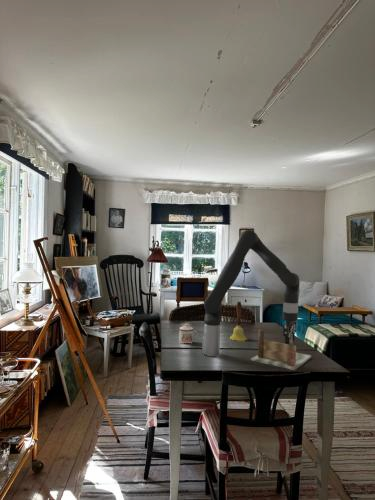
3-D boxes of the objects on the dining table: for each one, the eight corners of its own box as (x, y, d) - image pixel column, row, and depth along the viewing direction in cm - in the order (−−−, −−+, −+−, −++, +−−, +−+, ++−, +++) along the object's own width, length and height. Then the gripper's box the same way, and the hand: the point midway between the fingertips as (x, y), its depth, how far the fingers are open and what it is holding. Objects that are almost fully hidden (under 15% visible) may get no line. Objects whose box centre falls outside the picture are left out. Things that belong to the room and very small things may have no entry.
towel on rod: (250, 360, 189) (251, 330, 189) (271, 349, 211) (271, 322, 211) (294, 370, 175) (295, 338, 175) (311, 357, 197) (312, 329, 197)
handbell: (248, 337, 238) (249, 301, 238) (245, 342, 227) (246, 303, 227) (231, 335, 242) (232, 300, 242) (227, 340, 231) (228, 302, 231)
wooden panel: (263, 357, 190) (264, 329, 190) (264, 356, 192) (265, 329, 192) (294, 363, 180) (295, 334, 180) (295, 362, 182) (296, 333, 182)
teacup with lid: (180, 344, 216) (181, 326, 216) (177, 340, 225) (177, 322, 225) (199, 344, 219) (199, 325, 219) (195, 340, 228) (195, 322, 228)
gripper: (288, 308, 190) (287, 338, 190) (278, 312, 179) (277, 344, 179) (302, 310, 186) (301, 341, 186) (292, 313, 174) (292, 346, 174)
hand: (289, 342), depth 182 cm, fingers open, 7 cm apart
